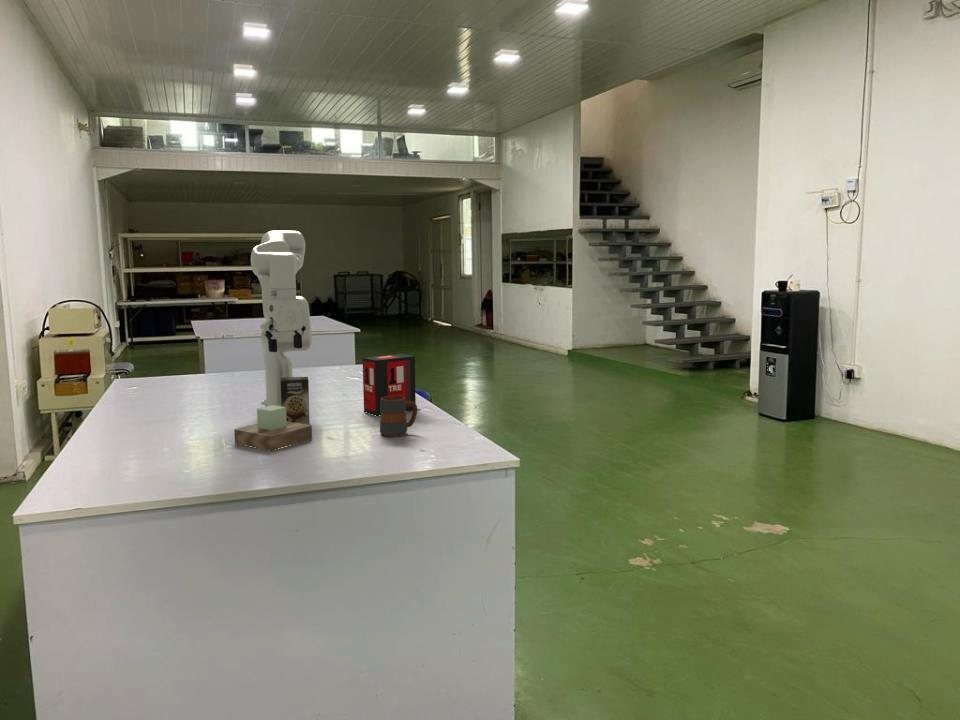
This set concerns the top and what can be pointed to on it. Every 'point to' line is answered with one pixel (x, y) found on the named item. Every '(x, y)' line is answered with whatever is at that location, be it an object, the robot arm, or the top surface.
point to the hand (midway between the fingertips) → (285, 349)
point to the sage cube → (271, 417)
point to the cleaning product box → (388, 380)
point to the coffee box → (295, 399)
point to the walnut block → (273, 436)
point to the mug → (395, 415)
